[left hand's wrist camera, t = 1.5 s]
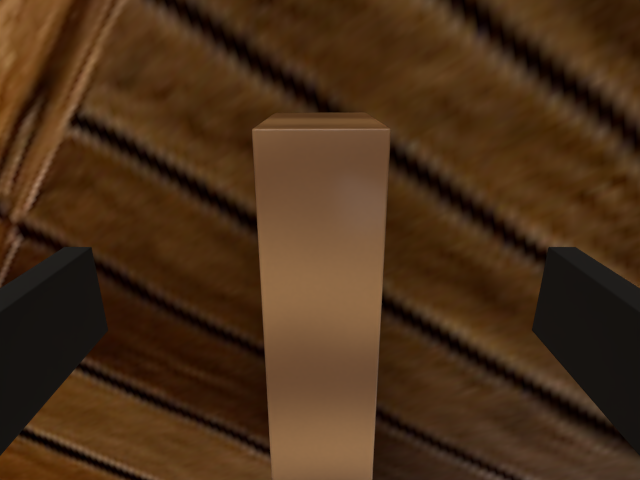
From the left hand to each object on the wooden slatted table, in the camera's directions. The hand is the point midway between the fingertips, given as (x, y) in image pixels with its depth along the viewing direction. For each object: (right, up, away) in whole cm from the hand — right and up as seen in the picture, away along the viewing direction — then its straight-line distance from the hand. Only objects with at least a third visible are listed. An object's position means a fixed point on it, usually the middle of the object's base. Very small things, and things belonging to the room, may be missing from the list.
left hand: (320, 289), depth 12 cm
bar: (0, -2, +17) cm, 17 cm away
